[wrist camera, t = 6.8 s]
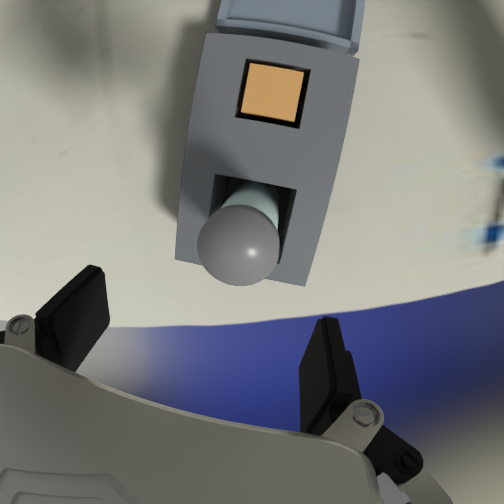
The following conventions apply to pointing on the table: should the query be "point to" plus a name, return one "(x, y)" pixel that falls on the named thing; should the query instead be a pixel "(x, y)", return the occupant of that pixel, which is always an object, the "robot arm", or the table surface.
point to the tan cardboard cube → (272, 92)
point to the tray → (296, 21)
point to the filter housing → (265, 142)
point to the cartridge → (242, 236)
